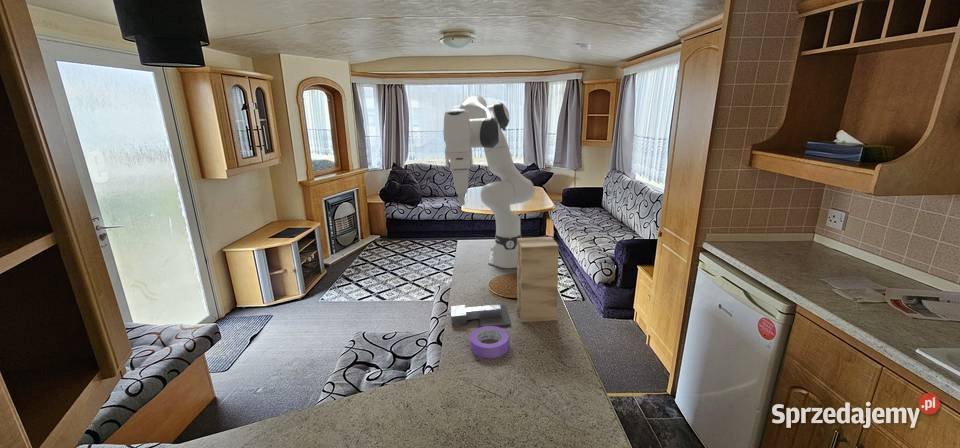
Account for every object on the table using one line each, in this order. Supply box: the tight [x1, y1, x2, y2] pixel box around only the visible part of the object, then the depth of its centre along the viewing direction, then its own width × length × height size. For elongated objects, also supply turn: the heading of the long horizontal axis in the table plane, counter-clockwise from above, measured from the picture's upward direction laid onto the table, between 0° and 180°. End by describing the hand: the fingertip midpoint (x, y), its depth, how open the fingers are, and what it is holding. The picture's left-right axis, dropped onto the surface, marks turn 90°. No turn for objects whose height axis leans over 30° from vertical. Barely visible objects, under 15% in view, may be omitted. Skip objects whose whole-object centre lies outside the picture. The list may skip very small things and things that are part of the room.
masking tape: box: [469, 326, 510, 359], centre depth 119 cm, size 12×12×4 cm
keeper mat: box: [479, 304, 511, 328], centre depth 136 cm, size 13×10×1 cm
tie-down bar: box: [450, 304, 501, 326], centre depth 134 cm, size 7×17×4 cm, turn 94°
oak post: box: [516, 236, 560, 323], centre depth 133 cm, size 9×12×27 cm
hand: (461, 201), depth 131 cm, fingers open, 8 cm apart
